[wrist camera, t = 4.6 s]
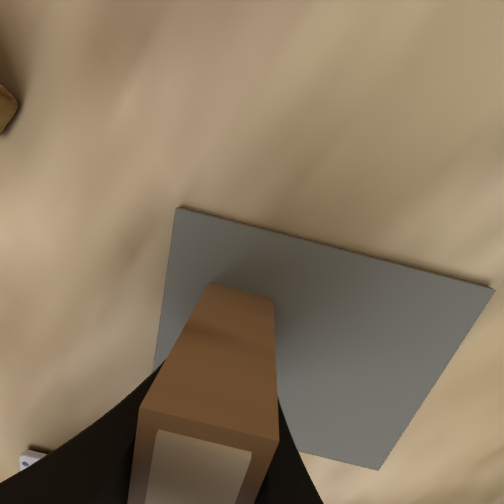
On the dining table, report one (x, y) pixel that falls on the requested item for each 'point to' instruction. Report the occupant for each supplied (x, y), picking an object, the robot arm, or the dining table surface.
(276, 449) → the robot arm
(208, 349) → the walnut block
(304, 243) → the rubber mat
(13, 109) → the rock
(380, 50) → the dining table surface
